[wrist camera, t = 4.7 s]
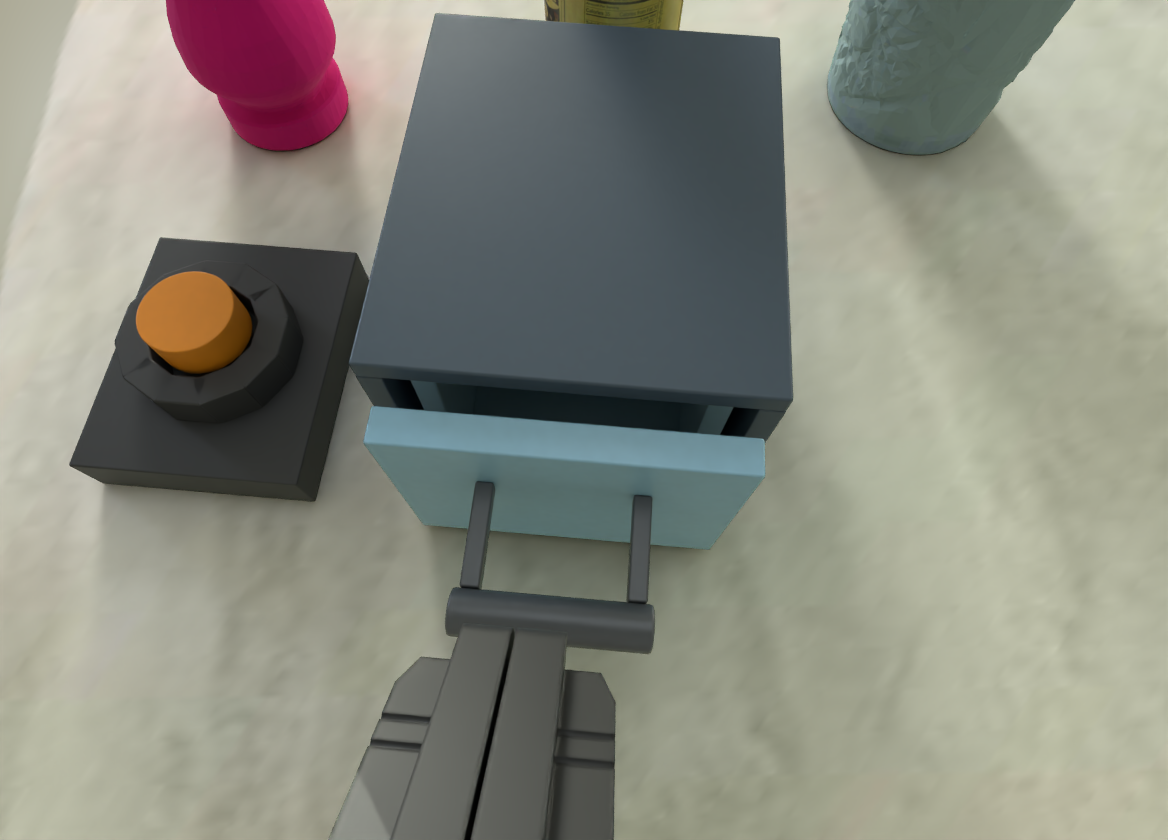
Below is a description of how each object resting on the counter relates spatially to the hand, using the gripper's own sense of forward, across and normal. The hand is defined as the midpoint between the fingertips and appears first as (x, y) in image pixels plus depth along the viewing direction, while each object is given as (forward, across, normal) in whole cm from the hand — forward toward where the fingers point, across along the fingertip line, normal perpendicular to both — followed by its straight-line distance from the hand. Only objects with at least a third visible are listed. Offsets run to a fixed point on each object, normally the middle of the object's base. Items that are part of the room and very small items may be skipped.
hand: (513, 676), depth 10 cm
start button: (+19, +15, +1) cm, 24 cm away
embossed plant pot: (+36, -16, -10) cm, 40 cm away
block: (+21, +15, +4) cm, 26 cm away
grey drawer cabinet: (+23, 0, +1) cm, 23 cm away
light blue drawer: (+19, 0, +4) cm, 20 cm away
